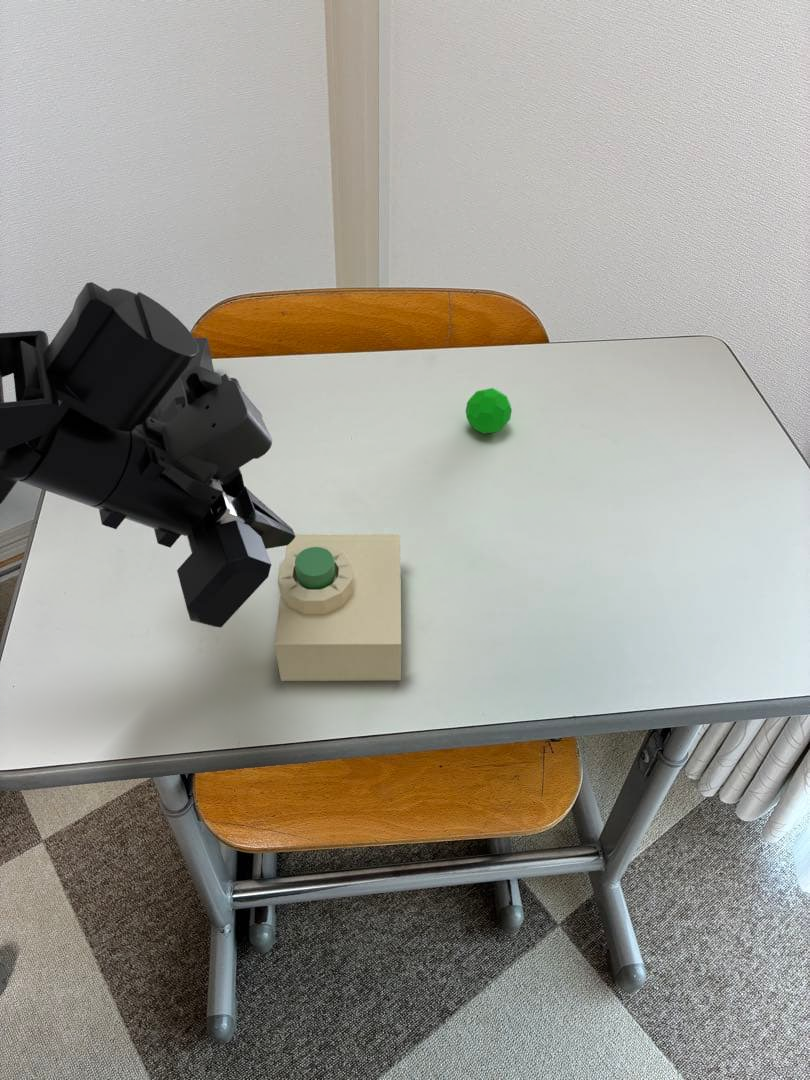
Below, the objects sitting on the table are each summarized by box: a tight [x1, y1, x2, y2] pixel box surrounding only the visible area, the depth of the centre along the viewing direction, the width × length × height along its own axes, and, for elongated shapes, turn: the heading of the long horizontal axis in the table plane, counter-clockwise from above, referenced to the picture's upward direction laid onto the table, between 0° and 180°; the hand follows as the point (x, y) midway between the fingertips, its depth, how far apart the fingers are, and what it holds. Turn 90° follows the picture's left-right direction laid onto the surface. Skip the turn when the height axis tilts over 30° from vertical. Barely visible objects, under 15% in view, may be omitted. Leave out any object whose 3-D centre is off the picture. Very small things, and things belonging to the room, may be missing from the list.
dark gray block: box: [149, 337, 215, 420], centre depth 87 cm, size 9×18×7 cm, turn 1°
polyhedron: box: [465, 387, 513, 435], centre depth 88 cm, size 5×5×5 cm
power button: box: [295, 547, 335, 589], centre depth 65 cm, size 3×3×2 cm
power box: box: [274, 534, 402, 682], centre depth 68 cm, size 10×12×7 cm
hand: (290, 537), depth 62 cm, fingers closed
